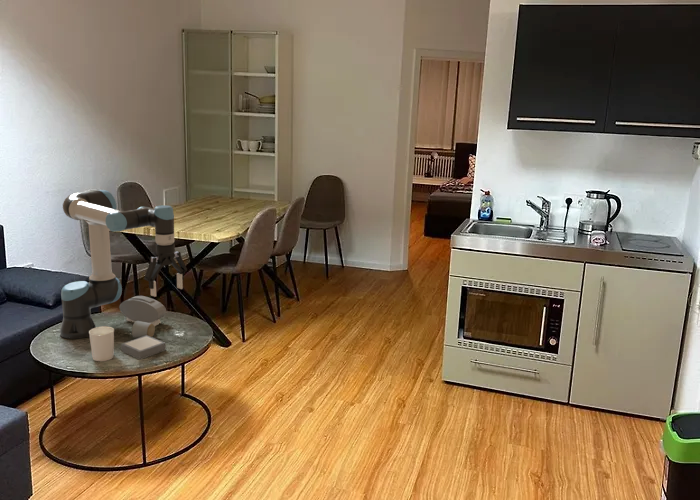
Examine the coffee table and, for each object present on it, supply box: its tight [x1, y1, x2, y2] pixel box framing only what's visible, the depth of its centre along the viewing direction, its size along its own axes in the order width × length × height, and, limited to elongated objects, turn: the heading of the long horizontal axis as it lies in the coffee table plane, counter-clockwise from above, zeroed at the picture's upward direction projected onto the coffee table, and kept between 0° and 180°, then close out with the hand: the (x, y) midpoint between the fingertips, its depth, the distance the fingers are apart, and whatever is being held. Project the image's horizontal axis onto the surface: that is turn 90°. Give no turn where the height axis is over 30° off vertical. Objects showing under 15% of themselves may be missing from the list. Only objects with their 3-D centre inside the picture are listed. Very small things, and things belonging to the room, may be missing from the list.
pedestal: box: [120, 335, 167, 360], centre depth 269 cm, size 13×13×4 cm
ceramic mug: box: [131, 321, 156, 339], centre depth 284 cm, size 11×8×8 cm
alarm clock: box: [119, 295, 167, 327], centre depth 301 cm, size 23×6×13 cm, turn 69°
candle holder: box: [88, 326, 115, 362], centre depth 260 cm, size 10×10×12 cm
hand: (166, 292), depth 262 cm, fingers open, 13 cm apart
